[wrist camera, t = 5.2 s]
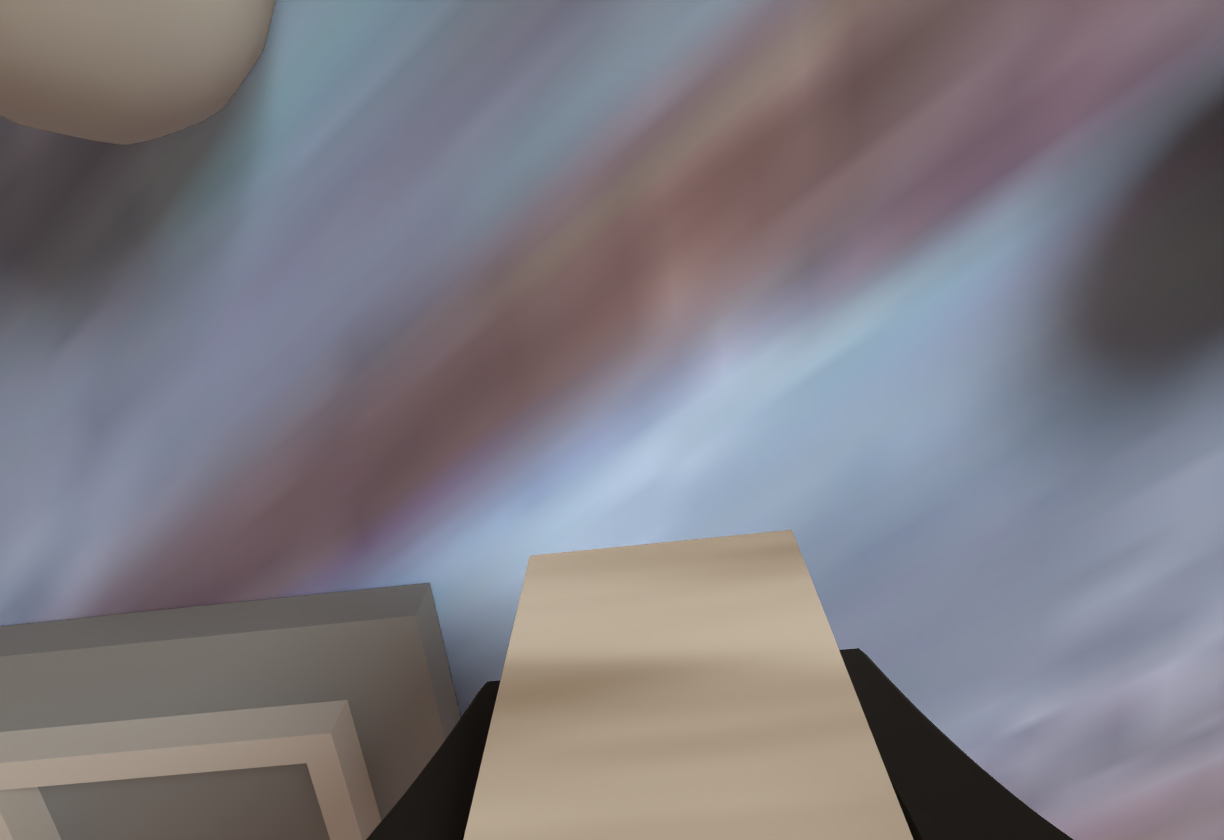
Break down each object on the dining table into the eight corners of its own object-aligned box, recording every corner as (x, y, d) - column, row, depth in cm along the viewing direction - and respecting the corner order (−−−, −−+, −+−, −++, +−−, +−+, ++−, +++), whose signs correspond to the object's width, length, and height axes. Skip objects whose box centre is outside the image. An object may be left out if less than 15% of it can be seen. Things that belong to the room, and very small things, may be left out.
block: (804, 743, 14) (922, 1170, 8) (566, 763, 14) (523, 1189, 9) (791, 529, 13) (921, 862, 7) (529, 556, 13) (449, 897, 7)
